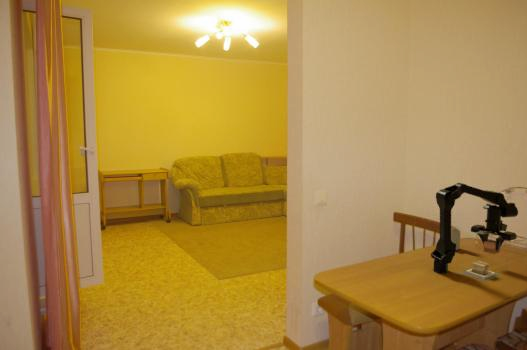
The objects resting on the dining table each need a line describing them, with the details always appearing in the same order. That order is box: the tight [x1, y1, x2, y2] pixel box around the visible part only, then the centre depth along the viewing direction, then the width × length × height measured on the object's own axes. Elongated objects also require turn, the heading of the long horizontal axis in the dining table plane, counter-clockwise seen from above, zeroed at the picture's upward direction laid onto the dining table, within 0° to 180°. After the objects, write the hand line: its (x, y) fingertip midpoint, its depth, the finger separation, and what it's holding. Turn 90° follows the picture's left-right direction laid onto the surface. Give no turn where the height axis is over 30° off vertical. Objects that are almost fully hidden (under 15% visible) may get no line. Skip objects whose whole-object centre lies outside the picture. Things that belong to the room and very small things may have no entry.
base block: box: [471, 260, 490, 276], centre depth 178 cm, size 5×5×5 cm
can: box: [451, 226, 462, 251], centre depth 216 cm, size 8×8×12 cm
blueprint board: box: [460, 267, 501, 282], centre depth 179 cm, size 12×12×2 cm
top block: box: [483, 239, 501, 255], centre depth 185 cm, size 5×5×5 cm
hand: (491, 249), depth 185 cm, fingers closed on top block, 5 cm apart
